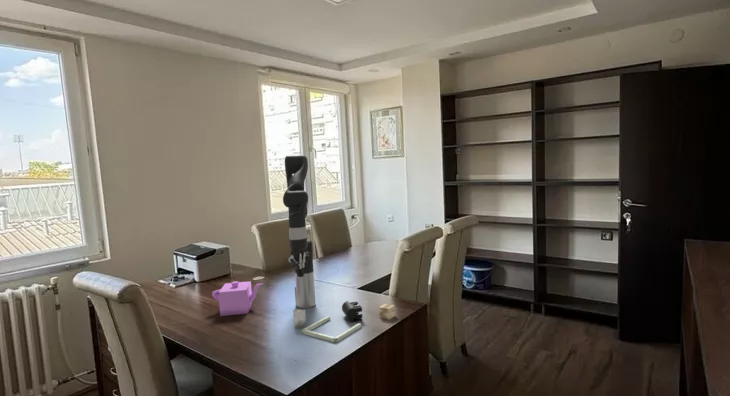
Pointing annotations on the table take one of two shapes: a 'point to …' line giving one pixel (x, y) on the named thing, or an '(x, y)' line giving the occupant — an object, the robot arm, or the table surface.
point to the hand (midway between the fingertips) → (300, 276)
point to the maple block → (386, 311)
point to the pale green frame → (326, 337)
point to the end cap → (352, 311)
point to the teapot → (235, 297)
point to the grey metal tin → (299, 318)
